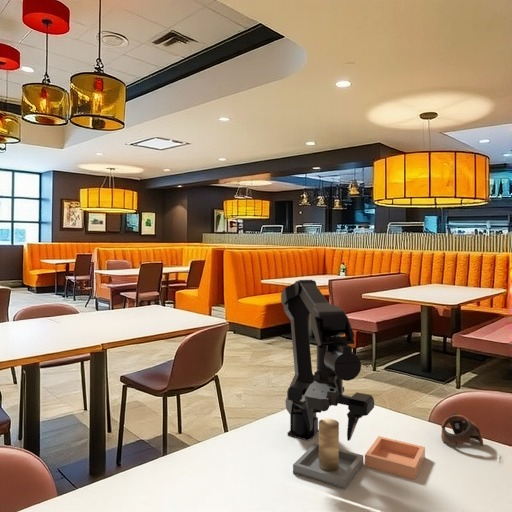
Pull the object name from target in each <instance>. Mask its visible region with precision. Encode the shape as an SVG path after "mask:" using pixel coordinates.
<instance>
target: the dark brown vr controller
mask: <svg viewBox="0 0 512 512" xmlns="http://www.w3.org/2000/svg"><path fill="white" fill-rule="evenodd" d="M448 424H449V425H450V426H451V428H452V431H453V433H451V432H448V431H447V430H446V427H447V425H448ZM477 425H478V424H476V423H475V422H474V421H472V420H470V419H469V418H468V416H465V415H463V414H458V413H457V412H455V411H454V412H452V413H450V414H449V416H448V417H446V418H445V419H444V420H443V421H442V422H441V427H440V428H441V435H440V438H441V441H442V442H443V444H449V445H454V446H456V445H457V446H458V444H459V445H464V444H470V445H472V444H473V442H472V440H475V441H478V443H479V444H480V445H481V446H484V440H483V438H482V435H481V432H480V428H479V427H478V426H477Z"/></svg>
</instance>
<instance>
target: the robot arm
mask: <svg viewBox="0 0 512 512" xmlns="http://www.w3.org/2000/svg"><path fill="white" fill-rule="evenodd" d="M280 294H281V295H280V300H281V304H282V305H283V313H285V315H286V316H287V317H288V319H289V320H290V330H291V341H292V352H293V353H292V355H293V366H294V375H293V378H292V379H291V382H290V384H289V387H288V388H287V391H286V399H285V409H286V410H287V413H288V414H289V415H290V416H289V417H290V418H289V419H290V421H289V422H290V425H289V426H290V427H289V429H290V430H289V431H288V432H287V433H286V434H287V436H291V437H294V438H297V439H302V440H305V441H311V439H313V438H314V437H315V436H316V435H317V434H319V418H318V416H317V413H319V414H321V412H327V411H328V410H329V408H330V407H331V406H334V407H338V404H339V405H344V406H348V407H347V410H348V412H347V414H346V416H347V419H348V420H347V429H346V430H347V431H346V437H347V439H346V440H347V441H348V442H349V441H351V439H352V436H353V434H354V432H355V429H356V426H357V424H358V422H359V420H360V419H361V418H362V417H364V416H369V414H370V413H371V412H372V411H373V409H374V408H375V398H374V397H373V396H372V395H371V394H368V393H367V394H366V393H361V392H355V393H354V394H353V395H351V396H349V395H344V394H343V393H344V392H345V386H343V382H344V381H345V382H346V381H347V382H349V381H352V380H355V378H357V377H358V376H359V374H360V372H361V371H362V362H361V359H360V358H359V357H358V355H356V354H355V353H354V352H353V347H352V346H351V345H355V340H354V338H355V333H354V330H353V327H352V325H351V323H350V319H349V317H348V315H347V314H346V312H344V310H343V309H341V308H340V306H337V305H335V304H331V303H330V302H329V301H328V300H327V298H325V297H326V296H324V295H323V293H322V292H321V290H320V289H319V287H318V286H317V283H316V280H313V279H298V280H295V282H294V283H292V284H290V285H287V286H286V287H284V289H283V290H282V292H281V293H280ZM310 315H311V319H310V326H311V330H312V333H313V336H314V338H315V342H316V371H315V372H314V374H313V365H312V355H311V344H310V343H311V342H310V332H309V323H308V318H309V316H310Z"/></svg>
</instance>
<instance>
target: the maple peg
mask: <svg viewBox="0 0 512 512" xmlns="http://www.w3.org/2000/svg"><path fill="white" fill-rule="evenodd" d="M318 430H319V432H318V444H319V468H320V469H322V470H324V471H330V472H331V471H336V470H337V469H338V468H339V449H340V448H339V447H340V444H339V443H340V442H339V440H340V438H339V437H340V423H339V421H337V420H336V419H333V418H323V419H320V420H318Z"/></svg>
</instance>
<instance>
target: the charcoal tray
mask: <svg viewBox="0 0 512 512" xmlns="http://www.w3.org/2000/svg"><path fill="white" fill-rule="evenodd" d="M363 465H364V455H363V454H360V453H355V452H352V451H350V450H349V451H348V450H344V449H341V448H339V468H338V469H337V470H336V471H331V472H330V471H324V470H322V469H320V468H319V442H318V443H317V442H314V443H313V444H312V445H311V446H310V447H309V448H308V449H307V450H306V451H305V452H304V453H303V454H302V455H301V456H300V457H299V458H298V459H297V460H296V461H295V462H294V463H293V464H292V474H293V475H297V476H300V477H304V478H305V479H309V480H313V481H316V482H319V483H322V484H325V485H329V486H331V487H336V488H338V489H341V490H346V489H347V488H348V486H349V485H350V484H351V482H353V481H352V480H353V479H354V478H355V476H356V475H357V474H358V473H359V471H360V470H361V468H362V467H363Z"/></svg>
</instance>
